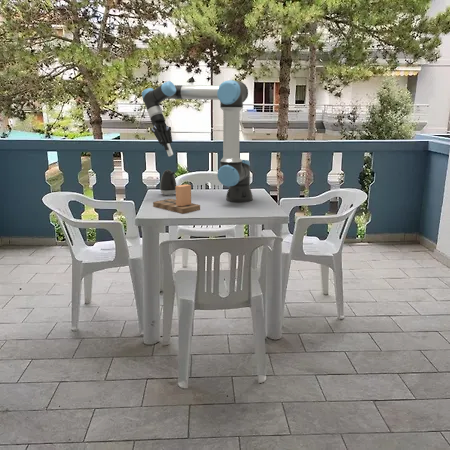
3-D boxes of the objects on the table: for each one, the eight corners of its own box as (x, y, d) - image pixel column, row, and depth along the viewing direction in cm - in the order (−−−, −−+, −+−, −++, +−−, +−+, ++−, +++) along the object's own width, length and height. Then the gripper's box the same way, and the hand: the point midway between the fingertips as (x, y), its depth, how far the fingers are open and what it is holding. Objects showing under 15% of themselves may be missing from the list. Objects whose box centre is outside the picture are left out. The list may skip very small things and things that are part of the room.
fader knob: (176, 205, 229) (175, 186, 227) (186, 203, 234) (185, 184, 232) (181, 206, 227) (180, 187, 224) (191, 204, 232) (190, 185, 229)
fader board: (153, 206, 239) (153, 201, 238) (170, 203, 247) (170, 198, 247) (182, 213, 223) (182, 208, 222) (200, 209, 231) (200, 204, 231)
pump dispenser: (169, 197, 263) (168, 171, 259) (156, 195, 269) (155, 170, 265) (180, 194, 271) (180, 169, 267) (167, 192, 277) (166, 168, 273)
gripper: (161, 119, 252) (175, 157, 250) (143, 119, 243) (157, 159, 241) (169, 113, 247) (183, 151, 245) (151, 112, 238) (166, 153, 236)
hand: (170, 155), depth 243 cm, fingers closed
